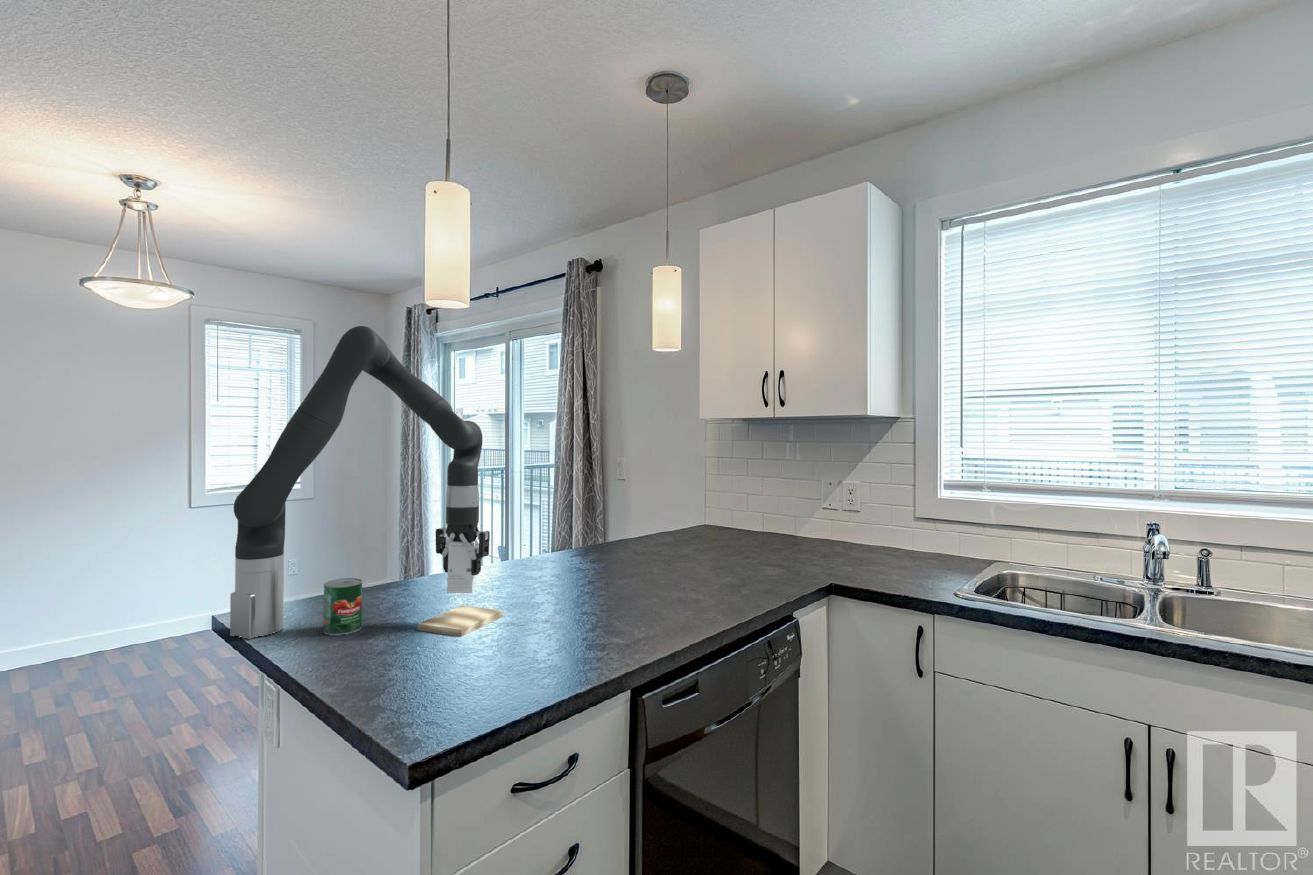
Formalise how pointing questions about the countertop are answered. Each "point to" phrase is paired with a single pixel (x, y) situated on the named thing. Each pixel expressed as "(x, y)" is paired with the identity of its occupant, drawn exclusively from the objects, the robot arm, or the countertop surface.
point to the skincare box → (459, 569)
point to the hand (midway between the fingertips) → (462, 573)
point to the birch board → (460, 620)
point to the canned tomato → (342, 606)
